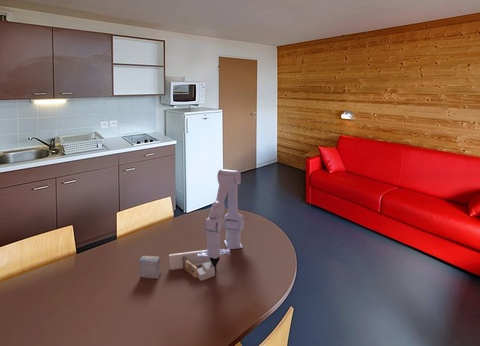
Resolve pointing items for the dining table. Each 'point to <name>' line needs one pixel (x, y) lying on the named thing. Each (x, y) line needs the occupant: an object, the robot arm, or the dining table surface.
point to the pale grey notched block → (206, 271)
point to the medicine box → (150, 267)
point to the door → (191, 269)
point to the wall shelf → (179, 259)
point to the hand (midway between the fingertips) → (214, 270)
